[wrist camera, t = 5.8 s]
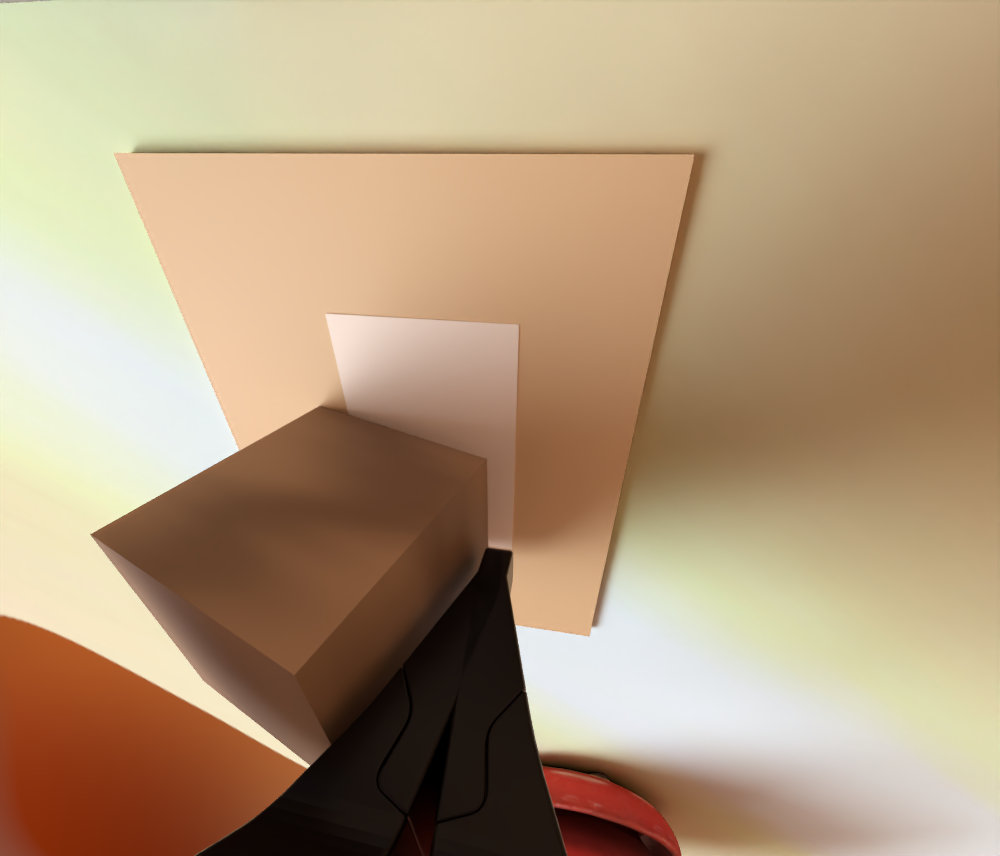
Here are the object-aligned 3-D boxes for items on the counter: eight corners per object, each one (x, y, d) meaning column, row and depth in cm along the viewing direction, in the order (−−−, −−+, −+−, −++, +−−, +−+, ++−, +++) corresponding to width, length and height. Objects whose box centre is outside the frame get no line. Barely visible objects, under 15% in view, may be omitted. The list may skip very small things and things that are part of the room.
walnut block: (486, 458, 9) (293, 675, 5) (489, 599, 12) (364, 808, 8) (320, 405, 11) (89, 534, 7) (355, 537, 13) (203, 681, 10)
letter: (690, 154, 7) (695, 154, 7) (589, 628, 15) (589, 637, 14) (128, 153, 8) (111, 153, 8) (303, 584, 16) (298, 592, 16)
